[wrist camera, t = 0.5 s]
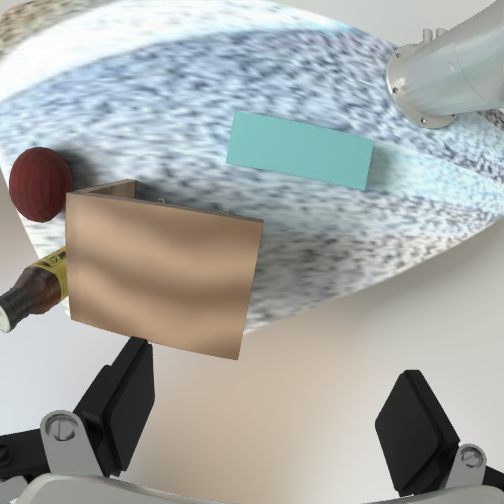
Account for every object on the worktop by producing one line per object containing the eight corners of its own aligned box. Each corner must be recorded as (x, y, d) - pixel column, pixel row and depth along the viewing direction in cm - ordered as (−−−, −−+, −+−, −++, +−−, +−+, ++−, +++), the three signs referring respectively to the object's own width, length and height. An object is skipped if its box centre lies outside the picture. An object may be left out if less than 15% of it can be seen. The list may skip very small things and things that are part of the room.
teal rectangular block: (230, 162, 38) (225, 163, 33) (238, 117, 36) (234, 111, 31) (352, 186, 38) (364, 190, 33) (361, 142, 36) (374, 140, 32)
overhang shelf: (126, 179, 39) (66, 192, 25) (264, 199, 39) (263, 223, 25) (121, 273, 43) (71, 319, 29) (246, 298, 43) (237, 360, 30)
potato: (93, 196, 40) (61, 206, 32) (47, 228, 42) (15, 242, 34) (66, 130, 37) (31, 128, 29) (23, 168, 39) (-11, 173, 31)
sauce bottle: (90, 233, 42) (0, 283, 23) (106, 270, 43) (28, 337, 24) (62, 247, 43) (-24, 297, 24) (78, 282, 44) (1, 344, 25)
